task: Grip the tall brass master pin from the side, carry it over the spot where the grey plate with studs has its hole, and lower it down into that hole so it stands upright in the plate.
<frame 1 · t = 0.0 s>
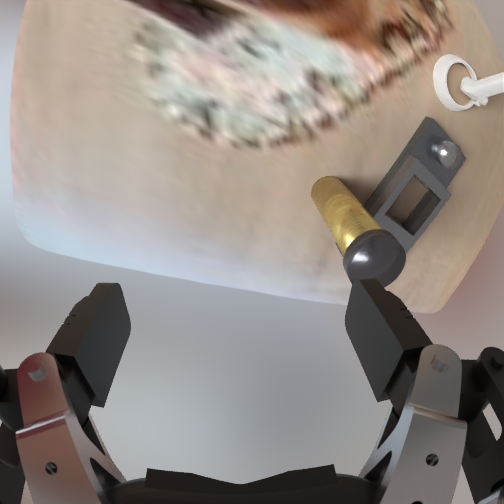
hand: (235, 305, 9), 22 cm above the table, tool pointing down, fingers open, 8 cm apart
grey plate with studs: (402, 196, 32), on the table
master pin: (328, 192, 31), on the table
white vr controller: (453, 82, 23), on the table
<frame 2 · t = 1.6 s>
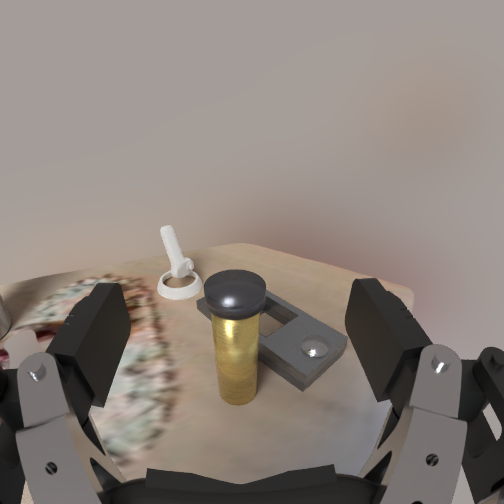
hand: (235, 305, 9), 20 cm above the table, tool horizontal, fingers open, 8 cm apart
grey plate with studs: (264, 331, 37), on the table
master pin: (237, 390, 28), on the table
white vr controller: (180, 287, 47), on the table
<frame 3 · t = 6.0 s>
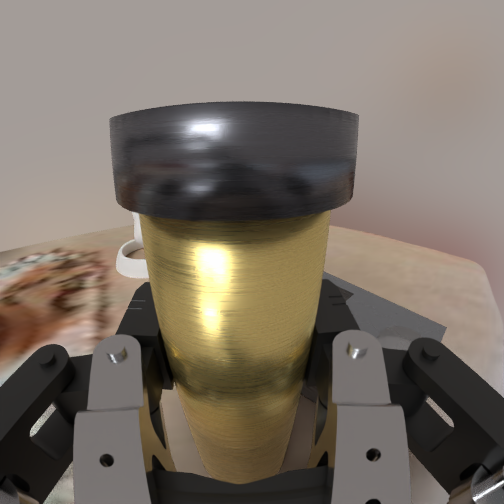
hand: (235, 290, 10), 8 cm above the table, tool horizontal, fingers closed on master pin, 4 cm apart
grey plate with studs: (290, 328, 20), on the table
master pin: (242, 453, 11), on the table, touching gripper
white vr controller: (149, 261, 30), on the table
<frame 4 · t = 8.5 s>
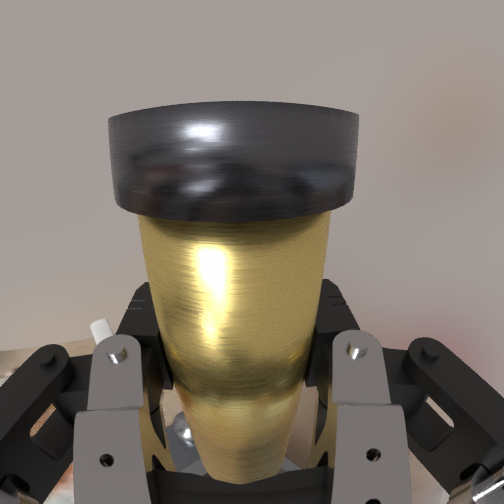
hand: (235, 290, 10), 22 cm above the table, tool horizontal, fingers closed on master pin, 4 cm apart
grey plate with studs: (249, 490, 19), on the table
master pin: (242, 454, 11), point 14 cm above the table, touching gripper
white vr controller: (131, 397, 28), on the table
when the fingers open (10 cm above the table, at t = 11.3 s): master pin drops 2 cm, resting in grey plate with studs.
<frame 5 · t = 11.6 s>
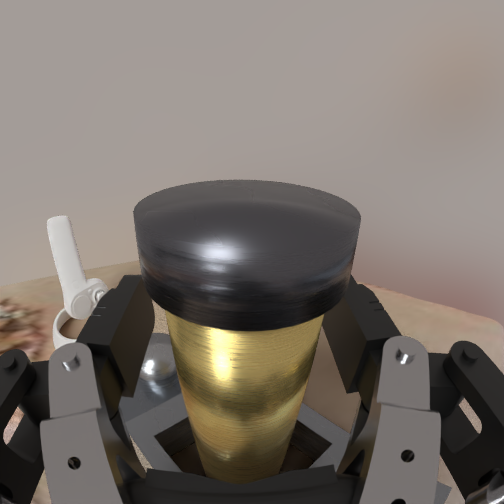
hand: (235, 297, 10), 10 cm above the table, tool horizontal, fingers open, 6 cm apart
grey plate with studs: (242, 466, 12), on the table
master pin: (241, 467, 12), resting in grey plate with studs
white vr controller: (91, 333, 22), on the table
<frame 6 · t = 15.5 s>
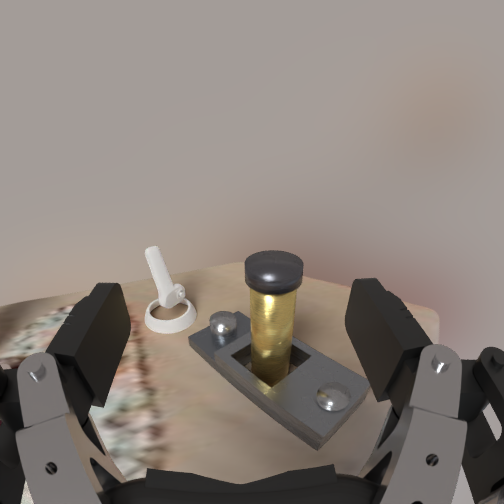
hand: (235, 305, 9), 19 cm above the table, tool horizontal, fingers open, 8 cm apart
grey plate with studs: (270, 374, 30), on the table
master pin: (269, 375, 29), resting in grey plate with studs
white vr controller: (170, 317, 39), on the table
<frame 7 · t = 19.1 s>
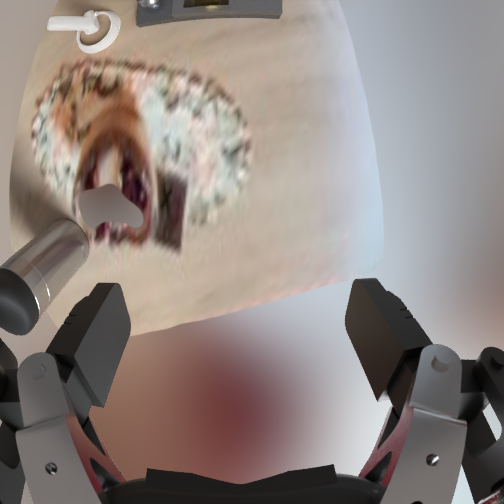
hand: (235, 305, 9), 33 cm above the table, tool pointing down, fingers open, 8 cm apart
white vr controller: (98, 31, 28), on the table
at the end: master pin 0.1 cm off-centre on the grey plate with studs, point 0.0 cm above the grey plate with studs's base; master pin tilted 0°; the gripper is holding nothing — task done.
